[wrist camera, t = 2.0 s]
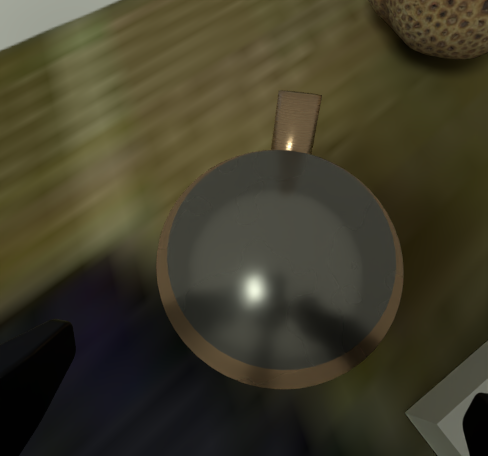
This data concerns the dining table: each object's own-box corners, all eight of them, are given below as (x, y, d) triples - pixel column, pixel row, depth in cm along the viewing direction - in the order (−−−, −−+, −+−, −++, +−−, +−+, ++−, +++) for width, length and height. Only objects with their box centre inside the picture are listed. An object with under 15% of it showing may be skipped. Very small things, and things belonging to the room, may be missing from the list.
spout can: (318, 382, 17) (423, 419, 6) (195, 360, 17) (112, 364, 7) (330, 227, 19) (417, 81, 9) (224, 212, 20) (195, 58, 10)
